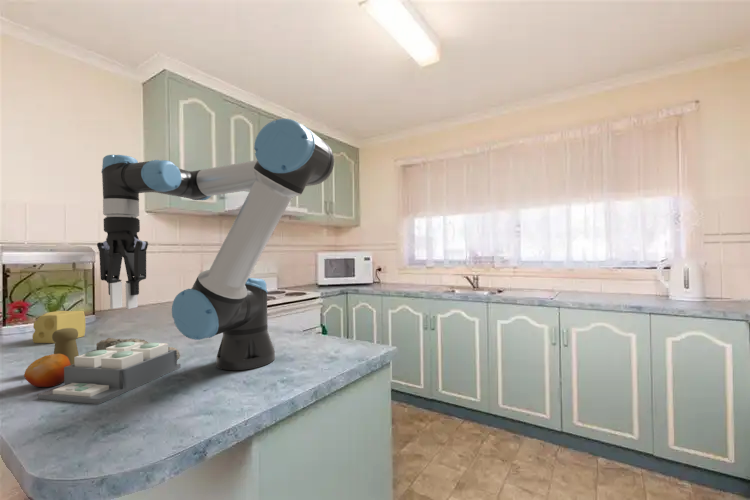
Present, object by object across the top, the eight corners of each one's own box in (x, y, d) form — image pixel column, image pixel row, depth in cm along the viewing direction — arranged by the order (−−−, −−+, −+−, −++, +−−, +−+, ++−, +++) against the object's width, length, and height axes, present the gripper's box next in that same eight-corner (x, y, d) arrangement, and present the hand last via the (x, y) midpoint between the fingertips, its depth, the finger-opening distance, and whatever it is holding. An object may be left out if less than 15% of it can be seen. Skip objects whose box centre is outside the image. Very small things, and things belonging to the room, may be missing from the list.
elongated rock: (156, 372, 94) (189, 363, 103) (157, 352, 94) (190, 345, 103) (84, 351, 109) (119, 345, 118) (86, 334, 109) (120, 329, 118)
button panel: (180, 367, 92) (180, 348, 92) (99, 404, 71) (98, 379, 71) (130, 364, 96) (129, 346, 96) (38, 398, 74) (37, 375, 74)
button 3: (143, 353, 92) (143, 341, 92) (124, 360, 86) (124, 347, 86) (126, 353, 93) (125, 340, 93) (106, 359, 87) (105, 346, 87)
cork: (63, 374, 89) (62, 331, 89) (44, 373, 90) (43, 331, 90) (87, 366, 95) (86, 326, 95) (69, 365, 96) (68, 326, 96)
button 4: (168, 355, 90) (167, 341, 90) (150, 362, 85) (149, 348, 85) (150, 354, 91) (149, 341, 91) (130, 361, 86) (130, 347, 86)
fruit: (87, 371, 87) (67, 348, 83) (55, 399, 80) (32, 375, 76) (66, 368, 89) (46, 346, 85) (34, 395, 83) (10, 372, 79)
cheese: (32, 343, 123) (31, 315, 123) (64, 335, 133) (63, 309, 133) (56, 344, 121) (56, 315, 121) (87, 336, 132) (86, 309, 132)
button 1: (117, 363, 84) (117, 349, 84) (94, 371, 79) (94, 356, 79) (98, 362, 86) (98, 348, 86) (74, 370, 80) (74, 355, 80)
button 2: (143, 364, 83) (143, 350, 83) (121, 372, 77) (121, 357, 77) (123, 363, 84) (123, 349, 84) (101, 371, 79) (101, 356, 79)
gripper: (162, 217, 91) (164, 305, 92) (108, 219, 95) (110, 305, 95) (137, 214, 84) (139, 310, 84) (79, 217, 88) (82, 310, 88)
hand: (124, 307), depth 90 cm, fingers open, 4 cm apart
